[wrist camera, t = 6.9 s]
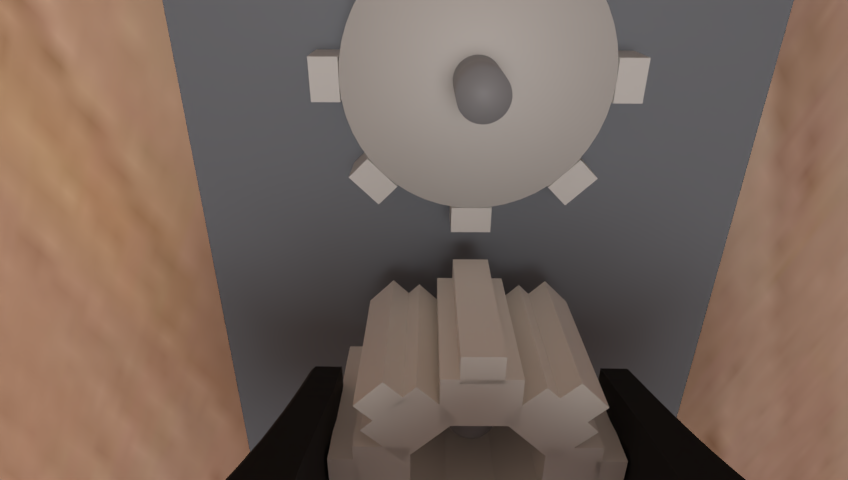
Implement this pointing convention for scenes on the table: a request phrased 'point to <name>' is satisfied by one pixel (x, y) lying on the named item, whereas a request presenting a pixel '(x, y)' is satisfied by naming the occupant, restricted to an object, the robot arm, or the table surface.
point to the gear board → (468, 165)
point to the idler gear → (472, 388)
